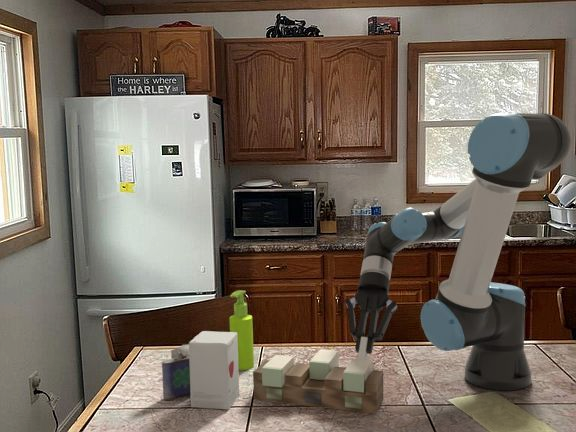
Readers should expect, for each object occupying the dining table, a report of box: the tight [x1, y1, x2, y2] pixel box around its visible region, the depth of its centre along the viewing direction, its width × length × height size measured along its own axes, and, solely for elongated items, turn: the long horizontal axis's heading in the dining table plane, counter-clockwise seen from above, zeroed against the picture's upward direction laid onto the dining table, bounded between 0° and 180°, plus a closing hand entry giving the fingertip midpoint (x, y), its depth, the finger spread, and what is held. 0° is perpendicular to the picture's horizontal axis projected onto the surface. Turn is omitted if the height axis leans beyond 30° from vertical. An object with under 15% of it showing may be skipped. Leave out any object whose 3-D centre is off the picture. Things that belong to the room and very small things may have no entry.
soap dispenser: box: [228, 289, 255, 371], centre depth 165 cm, size 6×7×20 cm
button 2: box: [343, 358, 373, 392], centre depth 141 cm, size 4×9×4 cm, turn 161°
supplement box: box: [188, 330, 240, 410], centre depth 144 cm, size 9×9×15 cm
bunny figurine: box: [170, 344, 189, 359], centre depth 169 cm, size 10×5×15 cm
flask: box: [161, 350, 191, 402], centre depth 148 cm, size 9×3×11 cm, turn 121°
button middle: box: [308, 348, 340, 380], centre depth 149 cm, size 4×9×4 cm, turn 161°
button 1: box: [262, 354, 295, 387], centre depth 145 cm, size 4×9×4 cm, turn 161°
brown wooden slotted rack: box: [252, 359, 384, 415], centre depth 144 cm, size 28×8×6 cm, turn 71°
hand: (361, 365), depth 147 cm, fingers closed
